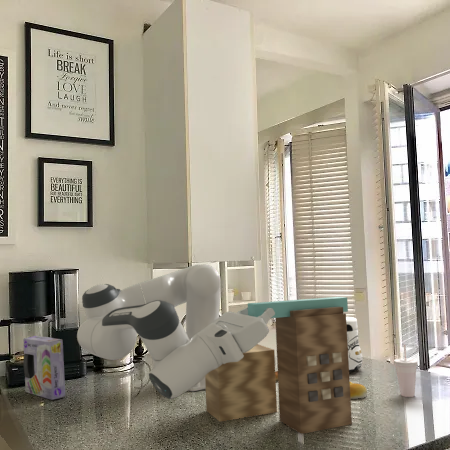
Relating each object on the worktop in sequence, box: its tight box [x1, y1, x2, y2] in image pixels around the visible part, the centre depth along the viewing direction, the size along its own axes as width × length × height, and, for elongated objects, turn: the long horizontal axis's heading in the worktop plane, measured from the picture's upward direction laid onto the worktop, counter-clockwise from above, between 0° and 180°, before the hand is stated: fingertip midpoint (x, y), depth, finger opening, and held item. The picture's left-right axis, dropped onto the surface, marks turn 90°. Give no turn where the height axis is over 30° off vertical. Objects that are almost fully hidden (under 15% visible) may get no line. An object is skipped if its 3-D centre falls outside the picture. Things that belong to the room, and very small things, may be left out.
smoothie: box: [393, 344, 418, 398], centre depth 135 cm, size 6×6×14 cm
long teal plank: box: [247, 296, 349, 319], centre depth 115 cm, size 26×4×4 cm, turn 112°
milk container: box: [346, 316, 363, 373], centre depth 168 cm, size 17×17×18 cm
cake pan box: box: [23, 335, 66, 401], centre depth 149 cm, size 19×5×18 cm, turn 47°
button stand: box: [274, 307, 353, 435], centre depth 115 cm, size 14×11×28 cm
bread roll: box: [350, 381, 368, 400], centre depth 137 cm, size 8×9×4 cm
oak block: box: [205, 343, 278, 423], centre depth 126 cm, size 16×10×16 cm, turn 112°
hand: (263, 308), depth 112 cm, fingers open, 8 cm apart
